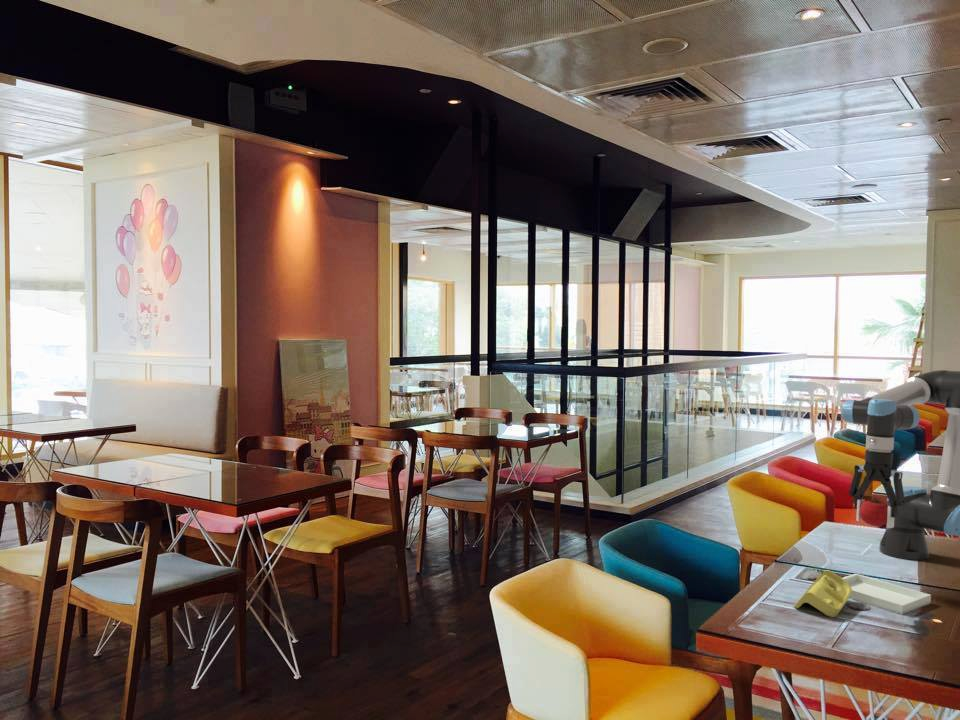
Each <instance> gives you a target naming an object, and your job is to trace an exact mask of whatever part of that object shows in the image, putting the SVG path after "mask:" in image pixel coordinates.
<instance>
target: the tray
mask: <svg viewBox="0 0 960 720" xmlns="http://www.w3.org/2000/svg"><path fill="white" fill-rule="evenodd" d="M841 578H842V579H844V580H845V581H846V582H847V583H848V584H849V585H850V587H851V589H852V593H851V595H850V597H849V598H848V599H850V598H851V599H850V600H854V599H855V600H854V601H857V600H858V601H857V602H860V603H863V604H867V605H869V606H873V607H877V608H879V609H884V610H886V611H889V612H891V613H892V612H893V613H895V614H899V615H905V614H908V613H910V612H912V611H915V610H918V609H920V608H923V607H926V606H928V605H930V604H931V599H932V595H931V594H929V593H926V592H922V591H919V590H915V589H912V588H908V587H905V586H901V585H898V584H894V583H890V582H887V581H884V580H880V579H876V578H874V577H873V578H872V577H870V576H867V575H862V574H858V573H854V574H850V575H847V576H844V577H841Z"/></svg>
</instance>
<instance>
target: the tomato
mask: <svg viewBox="0 0 960 720" xmlns="http://www.w3.org/2000/svg"><path fill="white" fill-rule="evenodd" d="M887 513H888V505H887V503H885V502H883V501H879V500H877V499H876V498H874V500H871V499H869V500H866V501H864V503H863V504H862V505H861V506H860V509H859V514H860V517H861V519H862V520H863V523H864V522H865V523H866V524H867V525H870V526H874V527H880V526H884V525H886V523H887Z"/></svg>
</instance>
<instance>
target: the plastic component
mask: <svg viewBox="0 0 960 720" xmlns="http://www.w3.org/2000/svg"><path fill="white" fill-rule="evenodd" d="M842 578H843V577H841V576H839V575H838V574H836V573H834V572H833V571H832V570H830V569H826V570H825V569H824V570H823V571H822V572H821V574H820V575H819V576H818V577H817V578H816V579H815V581H814V582H813V583H812V584H811V585H810V586H809V587H808V588H807V590H806V591H805V592H804V593H803V594H802V595H801V597H800V598H799V599H798V600H797V601H796V602H795V604H794V605H793V606H792V607H793V608H795V609H799V608H800V607H801V606H803V604H805V603H807V604H809V605H810V606H811V607H814V608H815V609H817V610H818V611H820V612H821V613H823V614H824V615H825V616H827V617H830V618H835V617H838V615H839V613H840V612H841V610H842V609H843V607H844V606H845V604H846V603H847V601H848V600H849V599H850V598H849V597H850V595H851V593H852V589H851V587H850V585H849V584H848V583H847V582H846V581H845V580H844V579H842Z"/></svg>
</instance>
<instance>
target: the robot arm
mask: <svg viewBox="0 0 960 720" xmlns="http://www.w3.org/2000/svg"><path fill="white" fill-rule="evenodd" d="M924 404H939V405H945V406H944V410H945V411H946V413H948V421H947V423H946V424H947V425H946V429H945V430H946V432H945V436H944V437H945V438H944V443H943V449H942V453H941V454H942V455H941V461H940V466H939V472H938V477H937V478H938V479H937V483H936V485H935V486H934V487H931V490H930V493H928V490H927V488H925V487H922V486H903V475H904V474H903V472H902V471H896V470H893V459H894V453H893V451H894V446H895V445H894V444H895V431H897V430H898V431H900V430H902V431H903V430H904V431H907V430H912V429H914V428H916V427H917V426H918V424H919V423H920V420H921V415H920V412H919V411H918V409H917V408H916V407H914V406H913V405H917V406H919V405H924ZM840 412H841V413H840V414H841V419H842V421H844V422H845V423H850V424H853V425H861V426H866V435H865V448H866V450H865V454H864V462H865V463H864V464H863V465H861V464H857V465H856V464H855V465H854V466H853V467H854V473H853V477H852V480H851V484H850V488H849V491H848V495H849V496H850V497H853V498H854V507H853V508H854V510H856V515H855V516H856V518H855V519H856V520H855V521H857V522H862V521H863V520H862V519H861V517H860V514H859V509H860V506H861V505H862V504H863V503H864V502H866V501H865V500H866V499H864V495H865V493H866V492H867V490H868V488H869V486H870V485H871V483H872V482H873V481H876V482H880V483H881V485H882V486H883V488H884V491H885V494H886V497H887V499H886V504H887V505H888V513H887V523H886V524H885V525H886V527H885V531H884V534H883V535H882V538H881V540H880V543H879V552H880V553H882V554H884V555H886V556H890V557H893V558H899V559H905V560H915V561H920V560H926V559H929V558H930V549H929V545H928V541H927V539H926V538H927V537H926V535H925V530H929V531H934V532H939V533H941V534H942V533H944V534H945V535H950V536H951V535H952V536H956V537H957V536H958V537H960V370H945V369H941V370H940V369H939V370H931V371H927V372H924V373H921V374H918V375H915V376H912V377H909V378H908V379H906V380H905V381H904V383H902V384H900V385H897V386H894V387H892V388H889V389H887V390H885V391H883V392H879V393H876V394H874V395H871V396H869V397H867V398H864V399H862V400H861V399H860V400H858V399H857V400H856V399H853V400H852V399H848V400H845V401H844V402H843V403H842V405H841V408H840ZM864 472H865V476H864V477H863V474H864ZM890 476H892V478H893V485H892V481H891V478H890ZM862 477H863V481H862V483H861V480H862ZM863 522H864V521H863Z"/></svg>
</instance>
